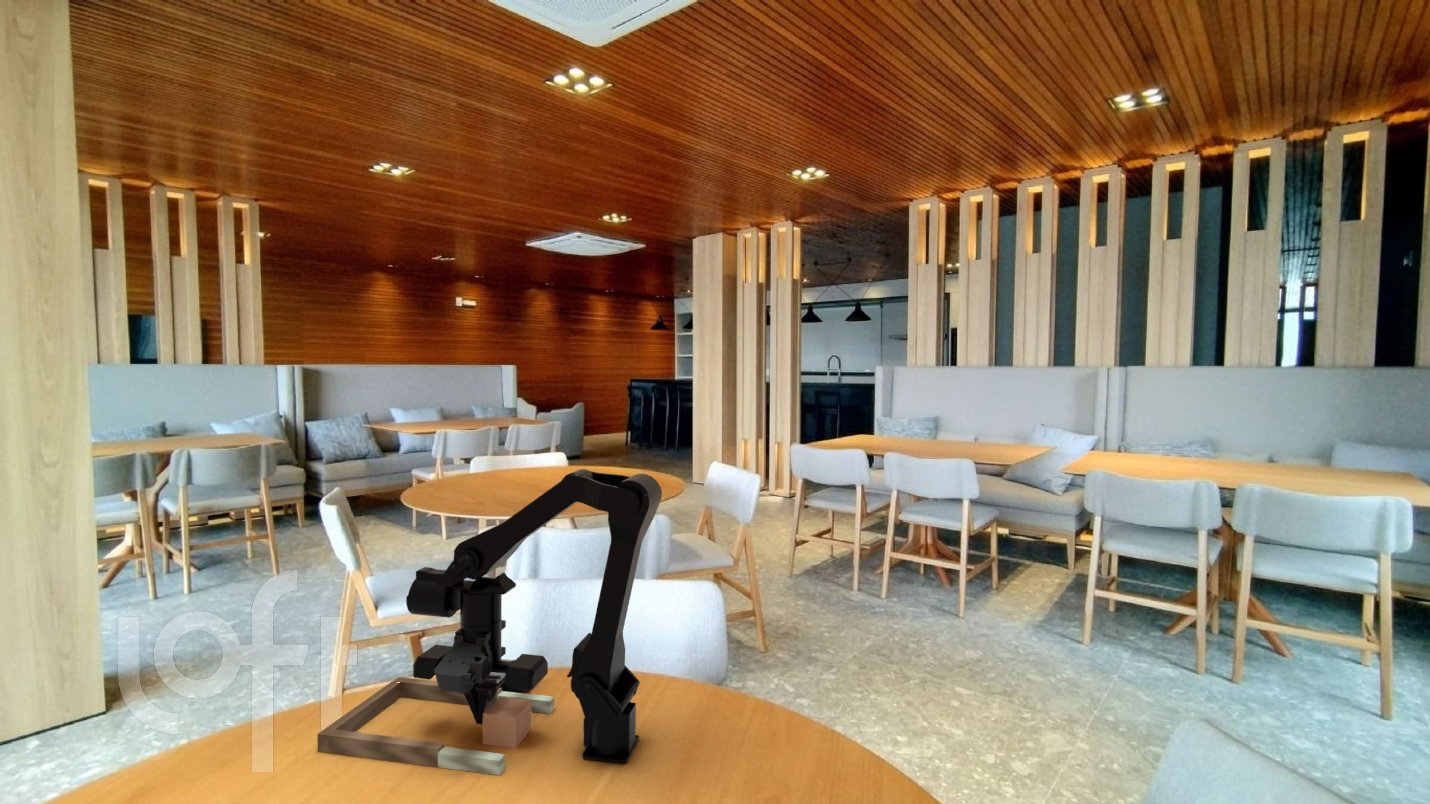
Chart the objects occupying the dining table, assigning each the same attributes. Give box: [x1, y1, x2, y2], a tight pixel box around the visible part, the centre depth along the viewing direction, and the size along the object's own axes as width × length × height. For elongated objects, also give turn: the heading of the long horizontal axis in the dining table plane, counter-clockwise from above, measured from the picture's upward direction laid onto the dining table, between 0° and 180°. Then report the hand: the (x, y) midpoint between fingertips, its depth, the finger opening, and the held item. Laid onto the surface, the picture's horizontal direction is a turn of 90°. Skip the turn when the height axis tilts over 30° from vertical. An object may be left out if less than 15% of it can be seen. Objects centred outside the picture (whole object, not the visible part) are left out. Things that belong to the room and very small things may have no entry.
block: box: [482, 697, 532, 749], centre depth 97 cm, size 5×5×4 cm
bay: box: [316, 676, 555, 776], centre depth 99 cm, size 28×18×2 cm, turn 80°
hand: (480, 723), depth 98 cm, fingers closed
